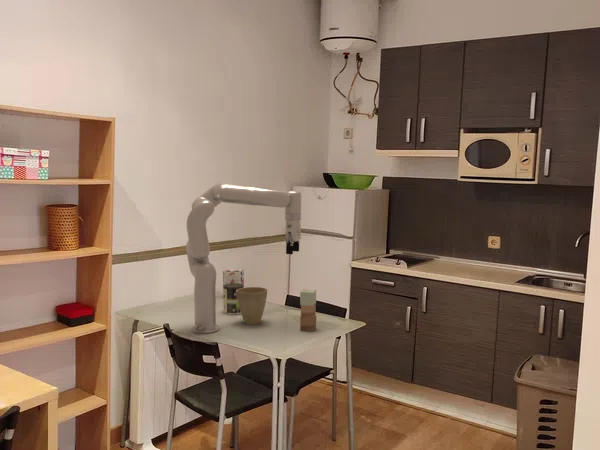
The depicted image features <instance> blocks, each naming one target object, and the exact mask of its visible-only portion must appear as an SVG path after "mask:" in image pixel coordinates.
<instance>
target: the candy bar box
mask: <svg viewBox="0 0 600 450" xmlns="http://www.w3.org/2000/svg"><path fill="white" fill-rule="evenodd" d="M244 275H245V270H244V269H241V268H239V269H238V268H237V269H236V268H233V269H231V268H230V269H229V268H228V269H227V268H225V269H223V270H222V283H223V284H222V286H223V285H225V284H242V285H243V288H245V276H244ZM222 299H223V300H224V295H223V294H222Z"/></svg>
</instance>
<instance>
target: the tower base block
mask: <svg viewBox="0 0 600 450" xmlns="http://www.w3.org/2000/svg"><path fill="white" fill-rule="evenodd" d="M299 318H300V319H299V321H300V322H299V325H300V327H299V328H300V329H299V331H301V332H310V333H311V332H313V333H314V332H315V330H316V329H317V315H315V318H314V319H310V318H301V317H299Z"/></svg>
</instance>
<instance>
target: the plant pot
mask: <svg viewBox="0 0 600 450" xmlns="http://www.w3.org/2000/svg"><path fill="white" fill-rule="evenodd" d="M236 293H237V299H238V304H239V308H240V311H241V314H240V315H241V317H242V321H243V322H244V323H245V325H259V324H260V323H261V321H262V319H263V318H262V317H263V315H264V311H265V308H266V307H265V306H266V303H267V297H268V289H267V288H265V287H263V286H262V287H261V286H246V287H245V286H244V288H240V289H237V290H236Z"/></svg>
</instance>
